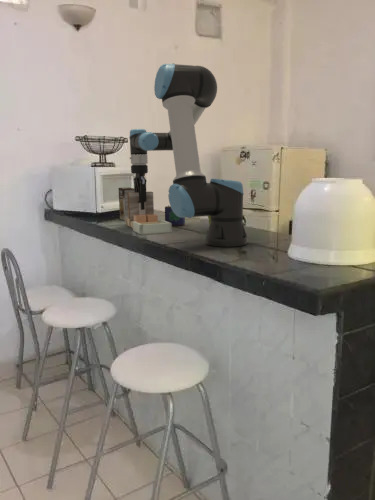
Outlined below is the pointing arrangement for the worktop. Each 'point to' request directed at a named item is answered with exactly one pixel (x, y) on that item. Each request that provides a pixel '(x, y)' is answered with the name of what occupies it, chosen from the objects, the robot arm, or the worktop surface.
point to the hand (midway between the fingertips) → (141, 215)
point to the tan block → (134, 205)
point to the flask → (173, 217)
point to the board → (130, 223)
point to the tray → (152, 228)
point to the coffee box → (124, 202)
